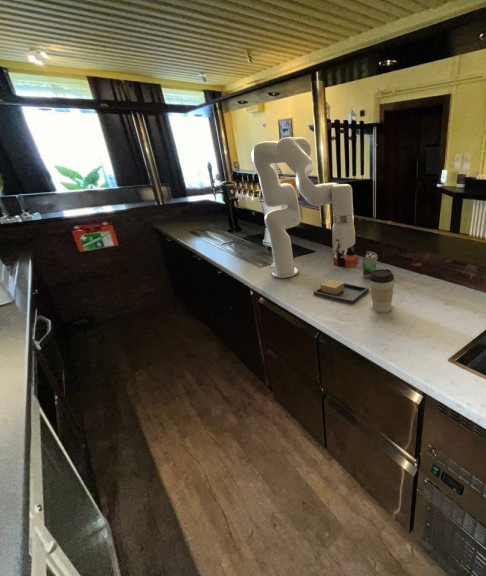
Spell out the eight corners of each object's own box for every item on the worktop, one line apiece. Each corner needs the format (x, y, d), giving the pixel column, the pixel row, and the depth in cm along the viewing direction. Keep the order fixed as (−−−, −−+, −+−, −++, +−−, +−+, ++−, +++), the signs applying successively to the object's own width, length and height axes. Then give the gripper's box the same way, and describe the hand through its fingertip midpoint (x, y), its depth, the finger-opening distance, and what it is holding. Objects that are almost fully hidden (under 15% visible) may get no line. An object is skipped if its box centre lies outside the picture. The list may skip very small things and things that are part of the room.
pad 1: (321, 291, 130) (320, 284, 129) (328, 286, 134) (328, 279, 133) (336, 295, 126) (335, 288, 125) (344, 289, 131) (343, 282, 129)
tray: (313, 295, 128) (313, 291, 127) (331, 283, 138) (331, 280, 137) (352, 304, 118) (352, 301, 118) (368, 291, 129) (368, 287, 128)
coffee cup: (378, 316, 110) (377, 278, 103) (365, 306, 117) (364, 270, 111) (398, 309, 113) (399, 272, 107) (385, 300, 121) (385, 265, 114)
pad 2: (333, 265, 121) (333, 258, 119) (341, 261, 125) (341, 253, 124) (350, 268, 117) (350, 260, 115) (358, 263, 121) (358, 256, 120)
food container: (376, 279, 140) (375, 259, 136) (363, 279, 141) (362, 259, 137) (379, 270, 151) (379, 251, 146) (367, 269, 152) (366, 250, 148)
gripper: (346, 214, 122) (349, 256, 129) (321, 223, 108) (326, 269, 116) (363, 215, 118) (364, 258, 126) (339, 224, 105) (342, 272, 112)
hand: (346, 263), depth 121 cm, fingers closed on pad 2, 6 cm apart
